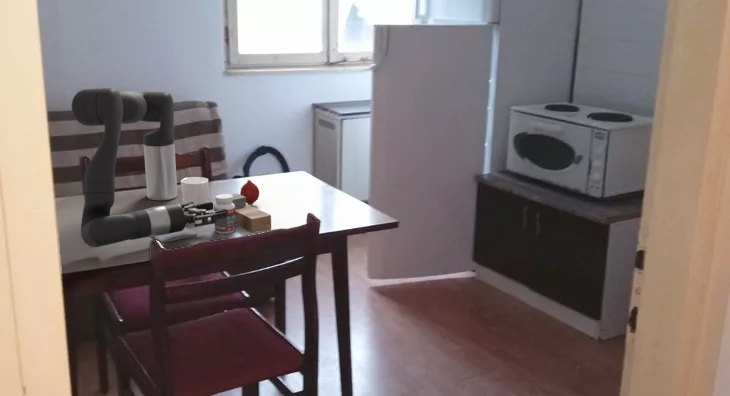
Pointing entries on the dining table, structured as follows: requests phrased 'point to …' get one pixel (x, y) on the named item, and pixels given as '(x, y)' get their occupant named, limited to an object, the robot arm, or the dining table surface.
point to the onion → (250, 192)
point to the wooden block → (250, 215)
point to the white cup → (194, 190)
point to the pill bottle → (228, 223)
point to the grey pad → (175, 235)
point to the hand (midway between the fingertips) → (219, 209)
